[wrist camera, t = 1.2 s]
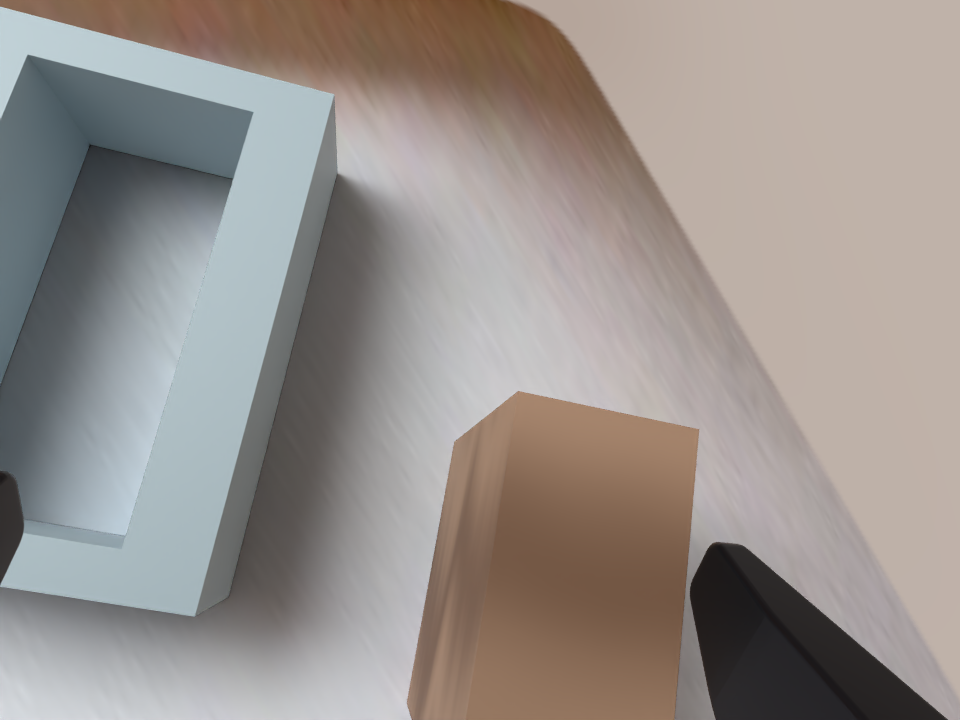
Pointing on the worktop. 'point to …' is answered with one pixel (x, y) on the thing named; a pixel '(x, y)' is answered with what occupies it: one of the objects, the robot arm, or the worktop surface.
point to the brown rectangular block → (558, 568)
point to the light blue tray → (221, 301)
